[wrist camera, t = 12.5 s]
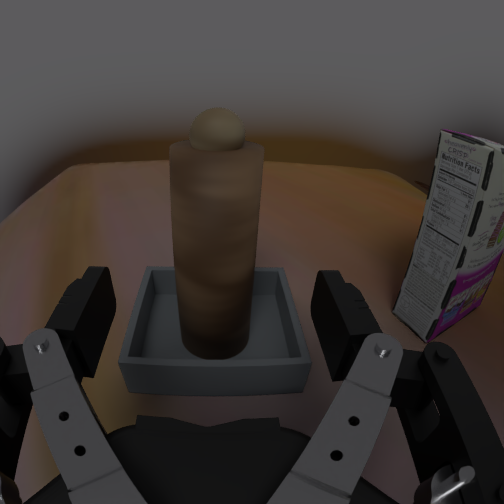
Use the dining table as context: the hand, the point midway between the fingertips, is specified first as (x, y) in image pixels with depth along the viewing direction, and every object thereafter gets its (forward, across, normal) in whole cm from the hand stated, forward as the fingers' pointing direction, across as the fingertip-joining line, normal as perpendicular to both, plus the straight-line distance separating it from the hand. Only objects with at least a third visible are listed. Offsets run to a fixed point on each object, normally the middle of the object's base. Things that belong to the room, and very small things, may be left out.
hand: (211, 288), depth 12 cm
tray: (+7, 0, +10) cm, 12 cm away
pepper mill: (+6, 0, +9) cm, 11 cm away
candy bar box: (+9, -21, +10) cm, 25 cm away
